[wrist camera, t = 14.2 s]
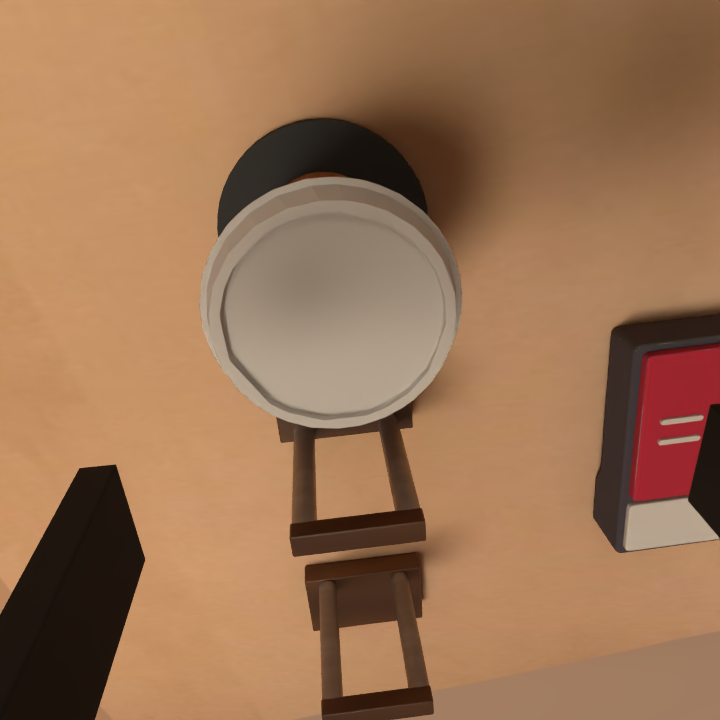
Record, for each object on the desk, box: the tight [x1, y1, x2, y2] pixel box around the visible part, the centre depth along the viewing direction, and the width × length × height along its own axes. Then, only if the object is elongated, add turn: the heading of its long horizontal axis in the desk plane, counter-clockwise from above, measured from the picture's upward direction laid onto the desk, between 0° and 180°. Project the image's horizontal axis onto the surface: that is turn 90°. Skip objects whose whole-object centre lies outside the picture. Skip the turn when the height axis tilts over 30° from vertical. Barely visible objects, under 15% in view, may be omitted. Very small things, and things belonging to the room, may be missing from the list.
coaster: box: [217, 119, 428, 238], centre depth 32 cm, size 11×11×1 cm
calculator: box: [593, 314, 720, 553], centre depth 38 cm, size 11×4×15 cm
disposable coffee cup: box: [199, 172, 462, 429], centre depth 26 cm, size 10×10×12 cm
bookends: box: [276, 402, 434, 720], centre depth 35 cm, size 22×8×11 cm, turn 5°
